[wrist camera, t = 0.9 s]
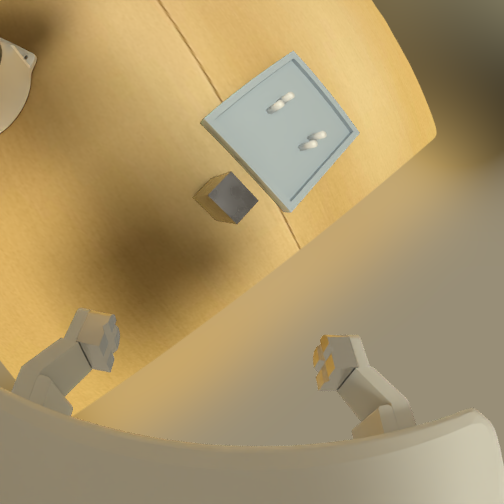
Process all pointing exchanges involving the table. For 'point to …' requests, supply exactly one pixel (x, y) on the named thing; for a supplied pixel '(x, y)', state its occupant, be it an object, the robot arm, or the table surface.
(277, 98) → the tray
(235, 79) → the table surface
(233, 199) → the drive
